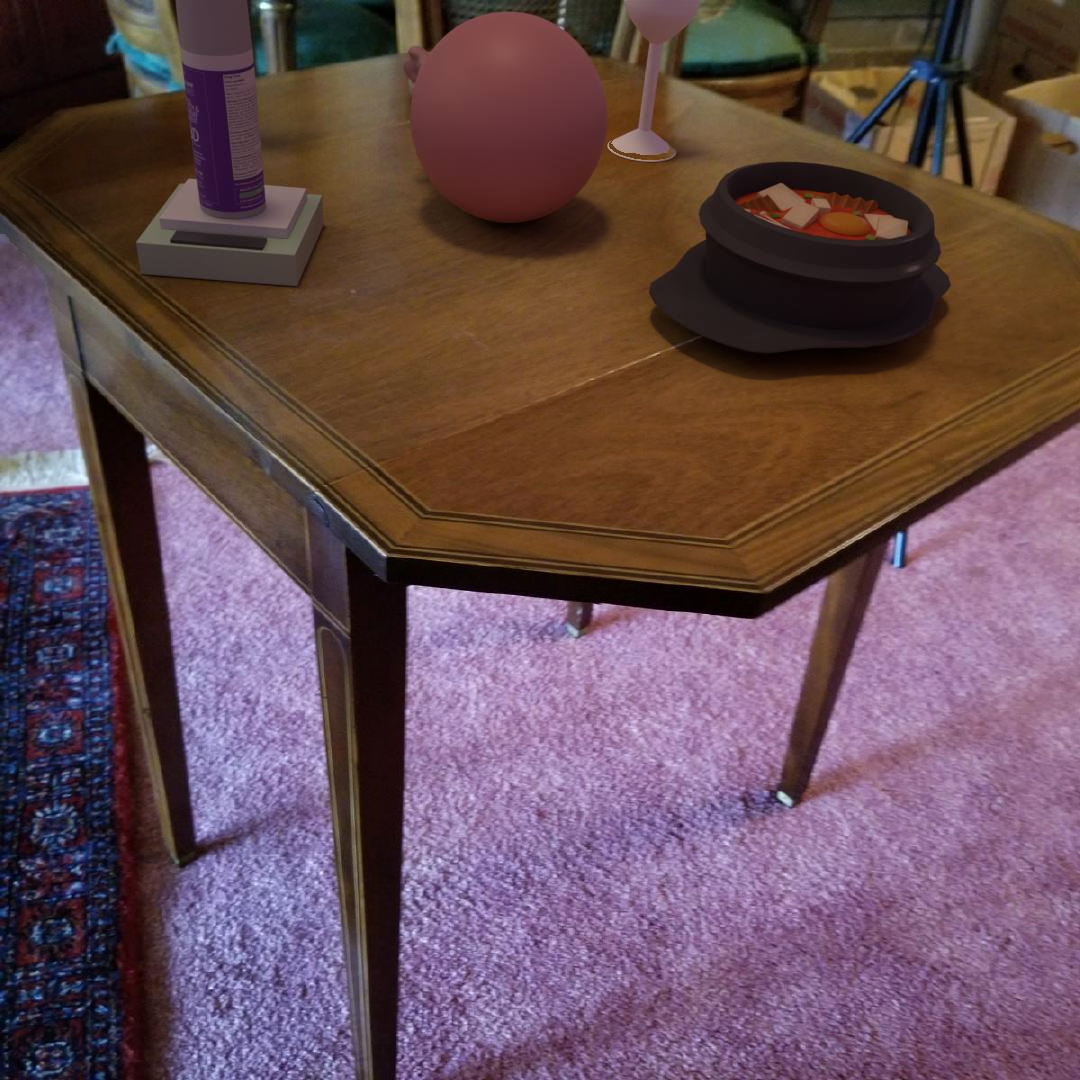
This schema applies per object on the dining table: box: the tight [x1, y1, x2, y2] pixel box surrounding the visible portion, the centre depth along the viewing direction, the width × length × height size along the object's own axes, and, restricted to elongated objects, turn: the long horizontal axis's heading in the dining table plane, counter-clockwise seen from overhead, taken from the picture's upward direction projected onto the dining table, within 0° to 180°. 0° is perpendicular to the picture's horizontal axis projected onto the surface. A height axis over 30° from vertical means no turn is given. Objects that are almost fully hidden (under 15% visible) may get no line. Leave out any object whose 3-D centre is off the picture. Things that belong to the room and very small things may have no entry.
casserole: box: [648, 161, 952, 355], centre depth 78 cm, size 25×19×8 cm
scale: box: [135, 178, 325, 287], centre depth 80 cm, size 11×11×3 cm
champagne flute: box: [607, 0, 700, 163], centre depth 97 cm, size 7×7×24 cm
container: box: [175, 0, 266, 219], centre depth 75 cm, size 5×5×15 cm
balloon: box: [402, 11, 608, 224], centre depth 86 cm, size 15×20×15 cm
